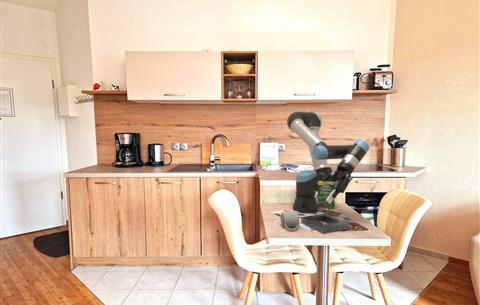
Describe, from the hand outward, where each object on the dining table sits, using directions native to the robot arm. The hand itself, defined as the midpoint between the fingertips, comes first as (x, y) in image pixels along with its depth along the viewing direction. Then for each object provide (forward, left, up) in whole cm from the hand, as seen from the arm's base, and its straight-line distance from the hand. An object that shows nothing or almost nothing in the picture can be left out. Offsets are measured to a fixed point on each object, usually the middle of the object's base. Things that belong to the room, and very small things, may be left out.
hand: (322, 200), depth 124 cm
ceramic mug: (-6, -14, -14) cm, 20 cm away
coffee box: (0, +3, -4) cm, 5 cm away
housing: (-1, +2, -13) cm, 14 cm away
